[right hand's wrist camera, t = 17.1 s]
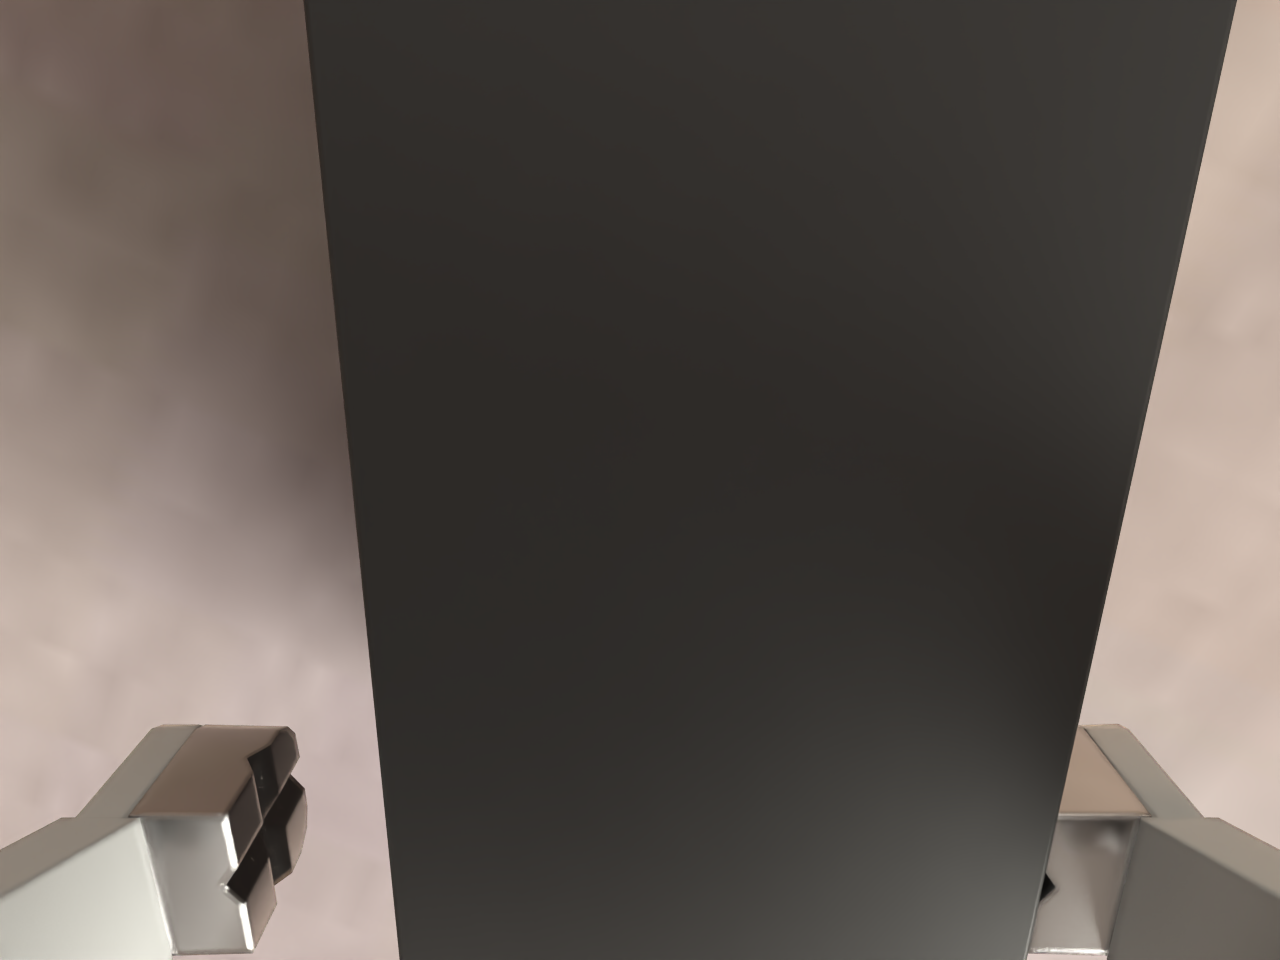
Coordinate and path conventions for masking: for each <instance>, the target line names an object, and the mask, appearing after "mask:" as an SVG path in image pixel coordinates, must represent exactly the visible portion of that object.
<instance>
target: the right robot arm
mask: <svg viewBox="0 0 1280 960" xmlns="http://www.w3.org/2000/svg"><path fill="white" fill-rule="evenodd" d="M299 757H300V756H299V751H298V746H297V741H296V736H295V733H294V732H293V731H292V730H291V729H290V728H289V727H288V726H242V725H204V726H202V725H161V726H158V727H155V728H152V729H151V730H150V731H149V732H148V733H147V735H146V736H145V737H144V738H143V739H142V740H141V742H140V743H139V744H138V745H137V746H136V748H135V749H134V750H133V751H132V752H131V753H130V755H129V756H128V757H127V758H126V759H125V760H124V762H123V763H122V764H121V765H120V766H119V767H118V769H117V770H116V771H115V772H114V773H113V774H112V776H111V777H110V778H109V779H108V780H107V781H106V783H105V784H104V785H103V786H102V787H101V788H100V790H99V791H98V792H97V793H96V794H95V795H94V797H93V798H92V799H91V800H90V801H89V803H88V804H87V805H86V806H85V807H84V808H83V810H82V811H81V812H80V813H79V814H78V815H77V817H76V818H60V819H58V820H56V821H54V822H52V823H51V824H49V825H47V826H45V827H43V828H41V829H39V830H37V831H35V832H33V833H31V834H30V835H28V836H26V837H24V838H22V839H20V840H18V841H16V842H14V843H12V844H10V845H8V846H7V847H5V848H3V849H1V850H0V960H173V957H172V956H176V955H210V954H244V953H253V952H254V950H255V948H256V946H257V944H258V942H259V940H260V938H261V936H262V934H263V932H264V930H265V928H266V925H267V923H268V921H269V919H270V917H271V915H272V913H273V911H274V909H275V907H276V905H277V900H276V894H275V888H274V885H276V884H277V883H278V882H280V881H281V880H283V879H284V878H285V877H287V876H288V875H289V874H291V873H292V872H293V870H294V867H295V865H296V863H297V861H298V859H299V856H300V854H301V851H302V847H303V842H304V838H305V833H306V829H307V801H306V794H305V788H304V787H303V786H302V785H301V784H300V783H299V782H298V781H297V780H296V779H295V778H294V777H293V776H292V775H291V772H292V770H293V768H294V766H295V765H296V763H297V761H298V759H299ZM1028 953H1034V954H1069V955H1104V956H1107V960H1280V850H1279V849H1277V848H1275V847H1273V846H1271V845H1269V844H1268V843H1266V842H1264V841H1262V840H1260V839H1258V838H1256V837H1254V836H1252V835H1250V834H1248V833H1247V832H1245V831H1243V830H1241V829H1239V828H1237V827H1235V826H1233V825H1231V824H1229V823H1227V822H1226V821H1224V820H1222V819H1220V818H1204V817H1203V815H1202V814H1201V813H1200V812H1199V811H1198V810H1197V808H1196V807H1195V806H1194V805H1193V804H1192V803H1191V801H1190V800H1189V799H1188V798H1187V797H1186V796H1185V794H1184V793H1183V792H1182V791H1181V790H1180V789H1179V787H1178V786H1177V785H1176V784H1175V783H1174V782H1173V780H1172V779H1171V778H1170V777H1169V776H1168V775H1167V773H1166V772H1165V771H1164V770H1163V769H1162V768H1161V766H1160V765H1159V764H1158V763H1157V762H1156V761H1155V759H1154V758H1153V757H1152V756H1151V755H1150V754H1149V752H1148V751H1147V750H1146V749H1145V748H1144V746H1143V745H1142V744H1141V743H1140V742H1139V741H1138V739H1137V738H1136V737H1135V736H1134V735H1133V734H1132V732H1131V731H1130V730H1129V729H1127V728H1125V727H1123V726H1121V725H1119V724H1103V725H1078V727H1077V732H1076V736H1075V741H1074V745H1073V750H1072V754H1071V759H1070V763H1069V768H1068V773H1067V777H1066V782H1065V786H1064V791H1063V795H1062V800H1061V805H1060V809H1059V814H1058V818H1057V823H1056V827H1055V832H1054V836H1053V841H1052V846H1051V850H1050V855H1049V859H1048V864H1047V868H1046V873H1045V877H1044V882H1043V887H1042V891H1041V896H1040V900H1039V905H1038V909H1037V914H1036V918H1035V923H1034V928H1033V932H1032V937H1031V941H1030V946H1029V950H1028Z"/></svg>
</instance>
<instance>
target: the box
mask: <svg viewBox="0 0 1280 960" xmlns="http://www.w3.org/2000/svg"><path fill="white" fill-rule="evenodd" d="M1236 2H1237V0H304V10H305V20H306V30H307V39H308V49H309V59H310V69H311V79H312V89H313V99H314V109H315V119H316V129H317V139H318V149H319V159H320V169H321V179H322V189H323V199H324V209H325V219H326V229H327V239H328V249H329V259H330V269H331V279H332V289H333V299H334V309H335V319H336V329H337V339H338V349H339V359H340V369H341V379H342V389H343V399H344V409H345V419H346V429H347V439H348V449H349V458H350V468H351V478H352V488H353V498H354V508H355V518H356V528H357V538H358V548H359V558H360V568H361V578H362V588H363V598H364V608H365V618H366V628H367V638H368V648H369V658H370V668H371V678H372V688H373V698H374V708H375V718H376V728H377V738H378V748H379V758H380V768H381V778H382V788H383V798H384V808H385V818H386V828H387V838H388V848H389V858H390V868H391V877H392V887H393V897H394V907H395V917H396V927H397V937H398V947H399V957H400V960H1027V955H1028V950H1029V946H1030V941H1031V937H1032V932H1033V928H1034V923H1035V918H1036V914H1037V909H1038V905H1039V900H1040V896H1041V891H1042V887H1043V882H1044V877H1045V873H1046V868H1047V864H1048V859H1049V855H1050V850H1051V846H1052V841H1053V836H1054V832H1055V827H1056V823H1057V818H1058V814H1059V809H1060V805H1061V800H1062V795H1063V791H1064V786H1065V782H1066V777H1067V773H1068V768H1069V763H1070V759H1071V754H1072V750H1073V745H1074V741H1075V736H1076V732H1077V727H1078V722H1079V718H1080V713H1081V709H1082V704H1083V700H1084V695H1085V691H1086V686H1087V681H1088V677H1089V672H1090V668H1091V663H1092V659H1093V654H1094V649H1095V645H1096V640H1097V636H1098V631H1099V627H1100V622H1101V618H1102V613H1103V608H1104V604H1105V599H1106V595H1107V590H1108V586H1109V581H1110V577H1111V572H1112V567H1113V563H1114V558H1115V554H1116V549H1117V545H1118V540H1119V535H1120V531H1121V526H1122V522H1123V517H1124V513H1125V508H1126V504H1127V499H1128V494H1129V490H1130V485H1131V481H1132V476H1133V472H1134V467H1135V463H1136V458H1137V453H1138V449H1139V444H1140V440H1141V435H1142V431H1143V426H1144V422H1145V417H1146V412H1147V408H1148V403H1149V399H1150V394H1151V390H1152V385H1153V380H1154V376H1155V371H1156V367H1157V362H1158V358H1159V353H1160V349H1161V344H1162V339H1163V335H1164V330H1165V326H1166V321H1167V317H1168V312H1169V308H1170V303H1171V298H1172V294H1173V289H1174V285H1175V280H1176V276H1177V271H1178V266H1179V262H1180V257H1181V253H1182V248H1183V244H1184V239H1185V235H1186V230H1187V225H1188V221H1189V216H1190V212H1191V207H1192V203H1193V198H1194V194H1195V189H1196V184H1197V180H1198V175H1199V171H1200V166H1201V162H1202V157H1203V152H1204V148H1205V143H1206V139H1207V134H1208V130H1209V125H1210V121H1211V116H1212V111H1213V107H1214V102H1215V98H1216V93H1217V89H1218V84H1219V80H1220V75H1221V70H1222V66H1223V61H1224V57H1225V52H1226V48H1227V43H1228V38H1229V34H1230V29H1231V25H1232V20H1233V16H1234V11H1235V7H1236Z"/></svg>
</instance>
